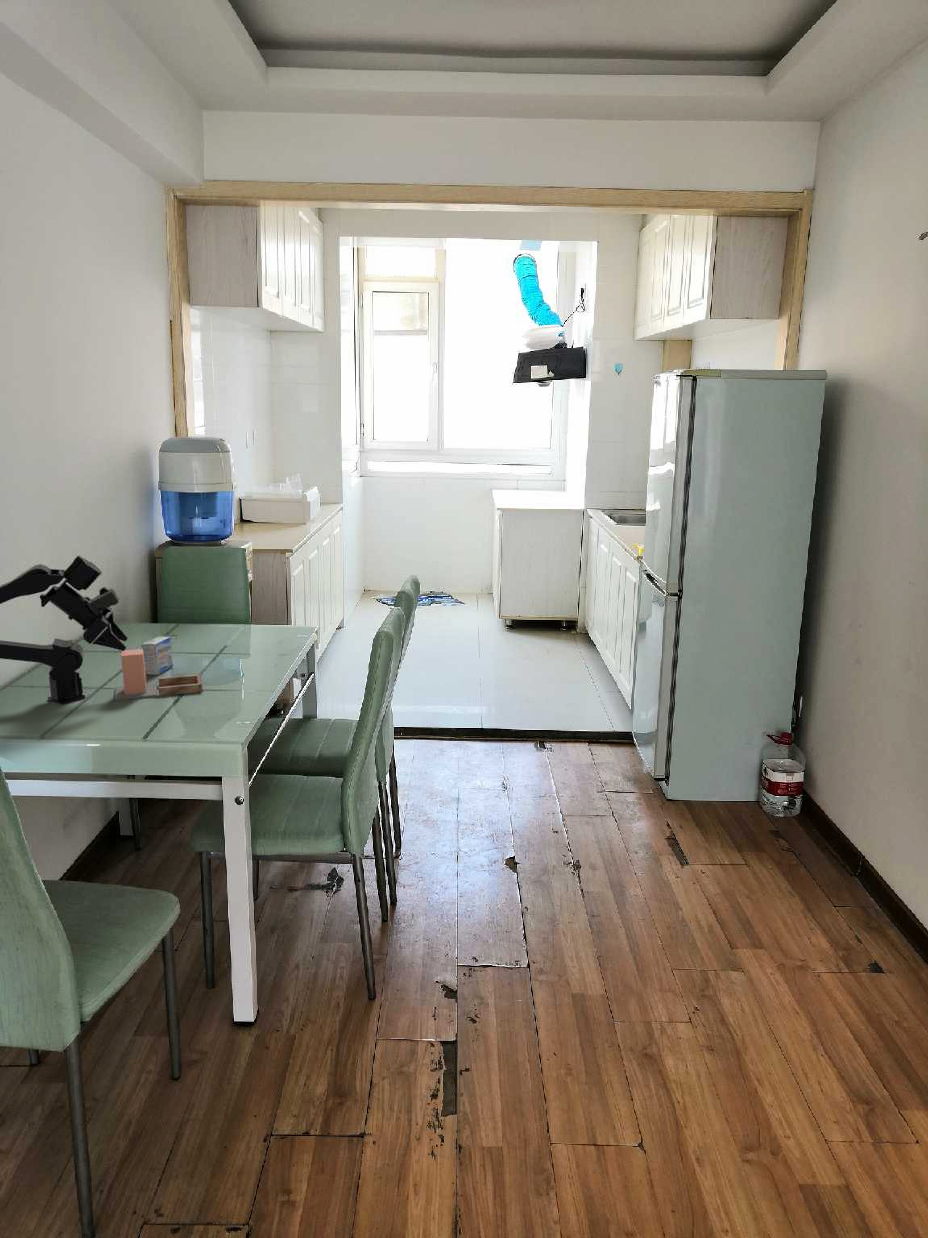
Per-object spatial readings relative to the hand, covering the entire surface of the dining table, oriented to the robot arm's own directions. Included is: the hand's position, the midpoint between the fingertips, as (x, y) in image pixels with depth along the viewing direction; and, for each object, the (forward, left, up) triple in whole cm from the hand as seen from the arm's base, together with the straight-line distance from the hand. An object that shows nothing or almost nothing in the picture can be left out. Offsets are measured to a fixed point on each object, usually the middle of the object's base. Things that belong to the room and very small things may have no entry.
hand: (125, 644), depth 231 cm
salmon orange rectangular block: (+1, -1, -12) cm, 12 cm away
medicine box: (+16, +11, -13) cm, 23 cm away
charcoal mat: (+1, -1, -13) cm, 13 cm away
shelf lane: (+10, -7, -13) cm, 18 cm away
